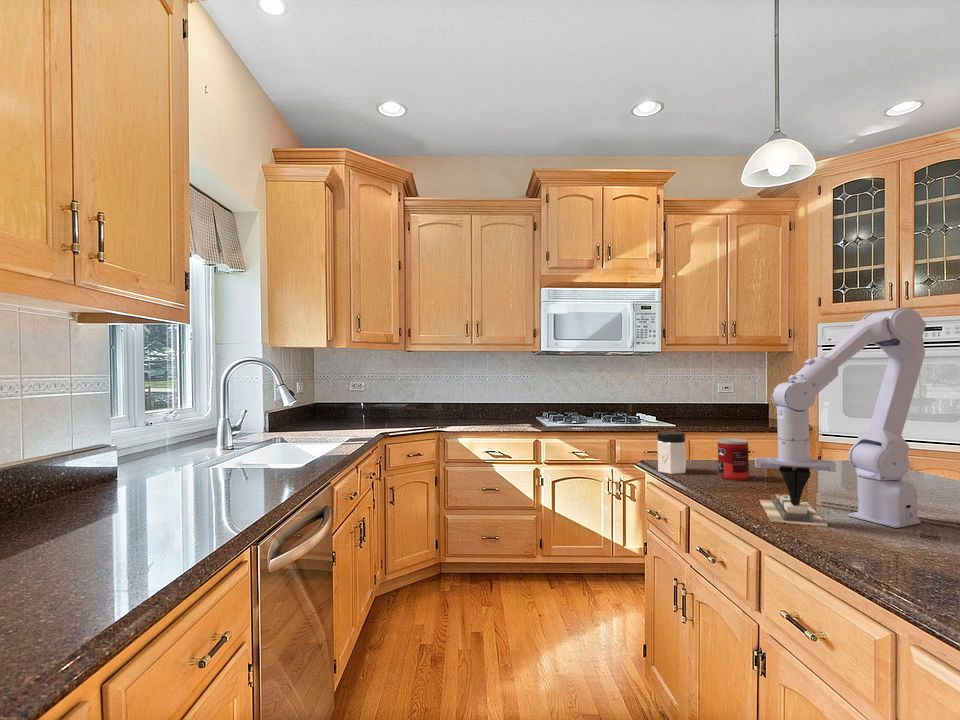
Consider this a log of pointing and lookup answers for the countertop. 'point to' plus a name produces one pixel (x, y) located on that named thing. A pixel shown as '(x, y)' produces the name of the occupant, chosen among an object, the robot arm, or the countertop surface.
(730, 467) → the canned food
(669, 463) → the jar
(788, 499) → the key two
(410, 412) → the countertop surface
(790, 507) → the key one
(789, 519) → the key board
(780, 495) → the key three
